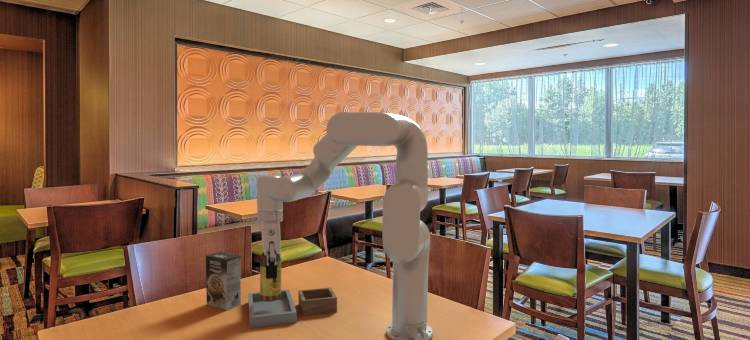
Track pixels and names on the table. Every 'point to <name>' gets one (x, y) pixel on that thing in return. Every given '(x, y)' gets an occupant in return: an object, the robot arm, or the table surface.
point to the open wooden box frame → (317, 301)
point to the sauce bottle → (270, 280)
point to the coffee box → (223, 280)
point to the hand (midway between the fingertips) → (270, 273)
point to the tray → (271, 310)
